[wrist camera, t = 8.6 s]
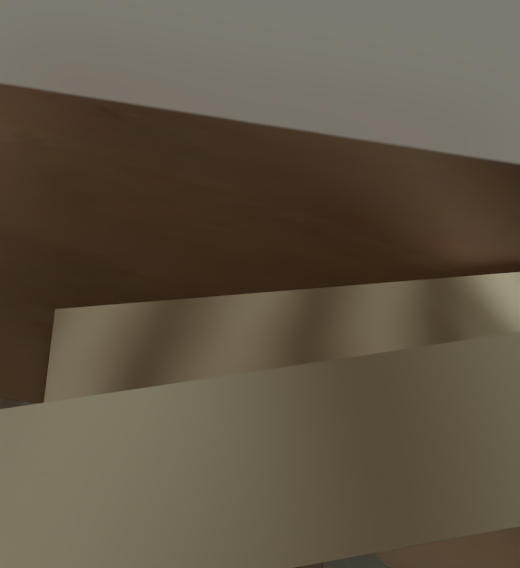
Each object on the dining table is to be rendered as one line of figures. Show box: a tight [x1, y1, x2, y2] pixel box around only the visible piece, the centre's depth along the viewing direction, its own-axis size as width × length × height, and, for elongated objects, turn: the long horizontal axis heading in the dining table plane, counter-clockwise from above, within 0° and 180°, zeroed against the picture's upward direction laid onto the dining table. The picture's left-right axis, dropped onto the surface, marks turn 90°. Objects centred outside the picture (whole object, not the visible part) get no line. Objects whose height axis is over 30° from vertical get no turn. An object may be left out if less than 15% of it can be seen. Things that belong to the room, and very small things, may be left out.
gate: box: [0, 332, 520, 568], centre depth 10 cm, size 16×2×12 cm, turn 98°
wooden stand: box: [0, 272, 520, 409], centre depth 11 cm, size 24×8×14 cm, turn 95°
